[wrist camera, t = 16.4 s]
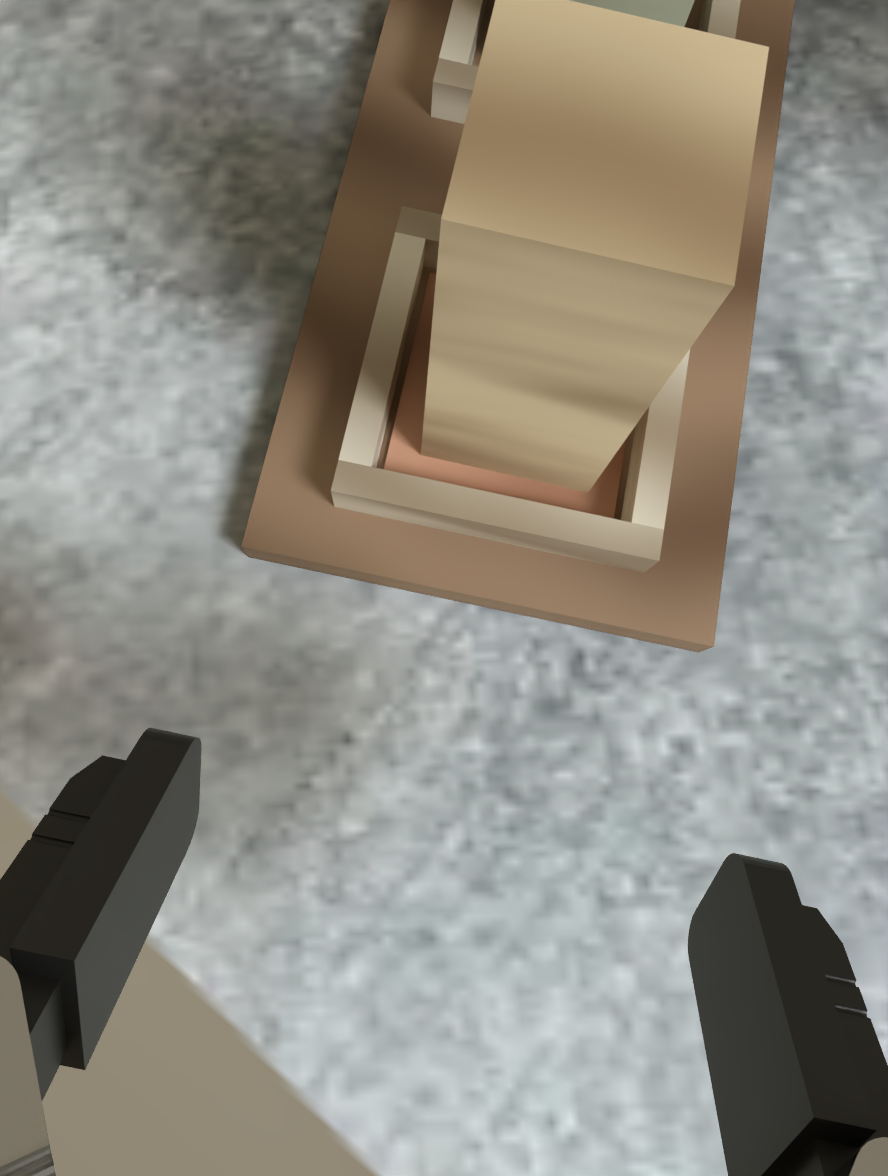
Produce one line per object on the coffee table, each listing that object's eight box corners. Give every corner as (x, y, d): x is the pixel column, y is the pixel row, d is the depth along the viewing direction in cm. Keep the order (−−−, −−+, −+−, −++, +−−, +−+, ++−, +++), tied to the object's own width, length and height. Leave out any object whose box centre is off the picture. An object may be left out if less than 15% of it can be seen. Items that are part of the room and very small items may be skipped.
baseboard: (428, -112, 26) (449, -643, 16) (786, -31, 26) (1022, -508, 16) (248, 556, 21) (117, 368, 11) (698, 652, 21) (967, 551, 11)
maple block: (455, 305, 21) (499, -17, 13) (615, 341, 21) (769, 46, 13) (420, 455, 20) (441, 218, 12) (588, 492, 20) (734, 285, 12)
